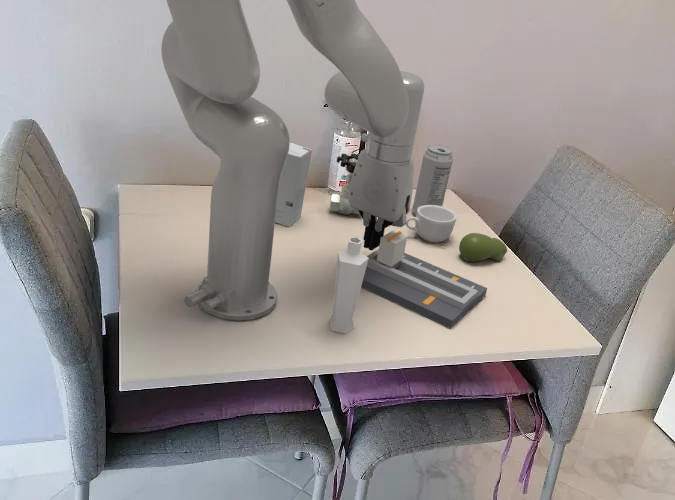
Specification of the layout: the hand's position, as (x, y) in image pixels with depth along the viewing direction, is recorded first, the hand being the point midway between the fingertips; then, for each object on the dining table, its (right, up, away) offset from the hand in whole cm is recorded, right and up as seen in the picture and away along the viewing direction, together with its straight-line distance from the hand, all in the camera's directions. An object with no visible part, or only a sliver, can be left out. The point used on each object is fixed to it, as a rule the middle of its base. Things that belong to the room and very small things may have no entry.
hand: (371, 246), depth 121 cm
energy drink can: (+13, +7, +25) cm, 28 cm away
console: (+8, -7, -3) cm, 11 cm away
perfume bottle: (-6, -12, -16) cm, 21 cm away
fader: (+3, -3, -1) cm, 5 cm away
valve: (-5, +7, +20) cm, 22 cm away
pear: (+21, -2, +11) cm, 24 cm away
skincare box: (-18, +6, +14) cm, 24 cm away
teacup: (+12, +2, +16) cm, 20 cm away
